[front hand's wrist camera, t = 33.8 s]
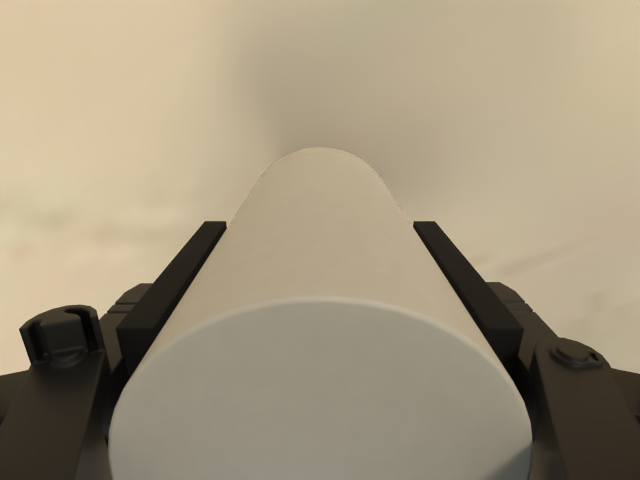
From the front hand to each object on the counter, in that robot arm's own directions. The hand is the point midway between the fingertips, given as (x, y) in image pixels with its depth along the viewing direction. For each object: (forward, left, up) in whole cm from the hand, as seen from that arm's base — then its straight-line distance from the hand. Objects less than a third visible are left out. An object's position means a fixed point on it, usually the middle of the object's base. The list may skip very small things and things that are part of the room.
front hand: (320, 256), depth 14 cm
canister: (0, 0, -4) cm, 4 cm away
